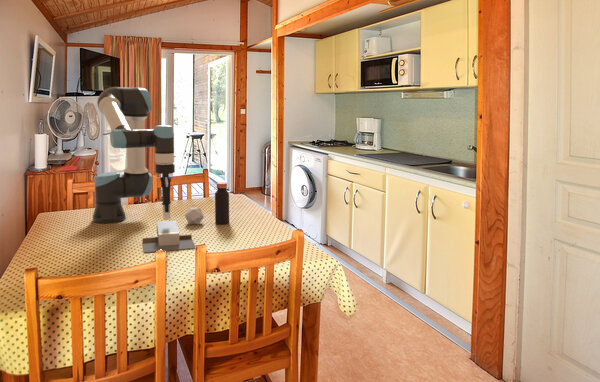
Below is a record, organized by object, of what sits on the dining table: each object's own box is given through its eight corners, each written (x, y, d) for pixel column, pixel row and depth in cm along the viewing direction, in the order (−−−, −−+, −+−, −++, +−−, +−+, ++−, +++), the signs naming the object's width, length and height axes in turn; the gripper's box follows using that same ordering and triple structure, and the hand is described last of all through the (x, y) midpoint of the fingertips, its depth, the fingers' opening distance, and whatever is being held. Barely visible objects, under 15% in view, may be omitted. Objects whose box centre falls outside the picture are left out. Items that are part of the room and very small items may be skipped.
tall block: (156, 221, 198) (158, 234, 188) (176, 220, 201) (179, 233, 190) (156, 232, 200) (158, 245, 190) (176, 231, 203) (179, 244, 192)
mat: (142, 243, 194) (142, 242, 194) (191, 239, 201) (191, 238, 201) (144, 253, 181) (143, 252, 181) (196, 248, 188) (196, 247, 188)
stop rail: (142, 242, 195) (142, 237, 195) (191, 238, 202) (191, 234, 202) (142, 243, 194) (142, 238, 194) (191, 239, 201) (191, 234, 201)
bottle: (222, 225, 225) (222, 184, 221) (212, 223, 228) (211, 183, 225) (232, 222, 231) (231, 182, 227) (221, 220, 234) (221, 181, 231)
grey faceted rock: (194, 228, 222) (205, 211, 224) (179, 218, 223) (191, 201, 224) (197, 229, 230) (208, 213, 232) (183, 220, 231) (194, 204, 232)
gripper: (176, 165, 187) (177, 222, 191) (172, 161, 199) (174, 215, 203) (156, 165, 185) (158, 223, 189) (154, 161, 197) (156, 216, 201)
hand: (166, 219), depth 196 cm, fingers closed
